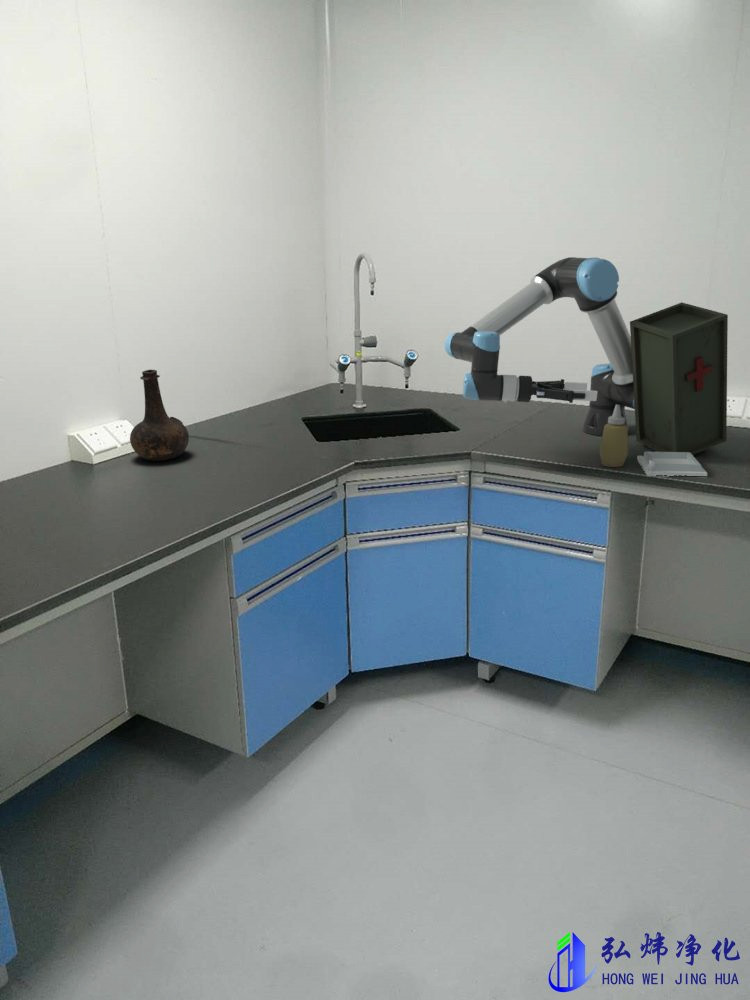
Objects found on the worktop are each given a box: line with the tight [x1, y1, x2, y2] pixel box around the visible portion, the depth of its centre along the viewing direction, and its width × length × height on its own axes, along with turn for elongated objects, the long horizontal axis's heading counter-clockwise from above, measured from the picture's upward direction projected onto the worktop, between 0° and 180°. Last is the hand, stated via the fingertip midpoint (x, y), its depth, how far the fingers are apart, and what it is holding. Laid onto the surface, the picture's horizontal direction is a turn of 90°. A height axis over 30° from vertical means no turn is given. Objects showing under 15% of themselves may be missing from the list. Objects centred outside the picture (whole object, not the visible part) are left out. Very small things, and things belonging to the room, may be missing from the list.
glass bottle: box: [129, 369, 190, 462], centre depth 237 cm, size 18×18×28 cm
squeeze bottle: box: [598, 405, 629, 468], centre depth 220 cm, size 8×8×18 cm
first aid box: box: [629, 301, 729, 456], centre depth 225 cm, size 18×18×40 cm
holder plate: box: [636, 451, 708, 477], centre depth 218 cm, size 16×16×4 cm
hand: (591, 391), depth 216 cm, fingers open, 13 cm apart
